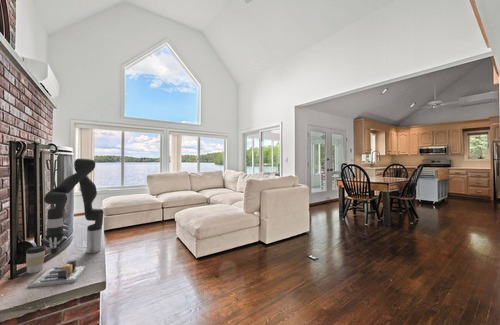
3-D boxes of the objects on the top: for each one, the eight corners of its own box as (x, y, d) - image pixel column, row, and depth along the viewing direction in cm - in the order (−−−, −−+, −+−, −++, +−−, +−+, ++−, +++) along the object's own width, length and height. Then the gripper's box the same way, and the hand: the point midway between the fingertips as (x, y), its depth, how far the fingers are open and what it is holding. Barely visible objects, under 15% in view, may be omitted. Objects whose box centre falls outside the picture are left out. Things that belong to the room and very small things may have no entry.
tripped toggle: (64, 272, 132) (64, 264, 132) (72, 271, 134) (72, 263, 134) (62, 274, 130) (62, 265, 130) (70, 273, 131) (70, 265, 131)
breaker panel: (44, 272, 135) (44, 262, 135) (85, 268, 142) (86, 258, 142) (27, 287, 120) (27, 275, 119) (74, 282, 127) (75, 270, 127)
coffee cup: (46, 269, 139) (48, 246, 139) (27, 275, 131) (28, 251, 131) (41, 265, 143) (42, 243, 143) (22, 271, 135) (23, 247, 135)
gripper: (71, 222, 135) (70, 250, 135) (45, 223, 131) (44, 252, 131) (65, 226, 128) (64, 255, 128) (37, 228, 124) (36, 257, 124)
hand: (54, 253), depth 130 cm, fingers closed
